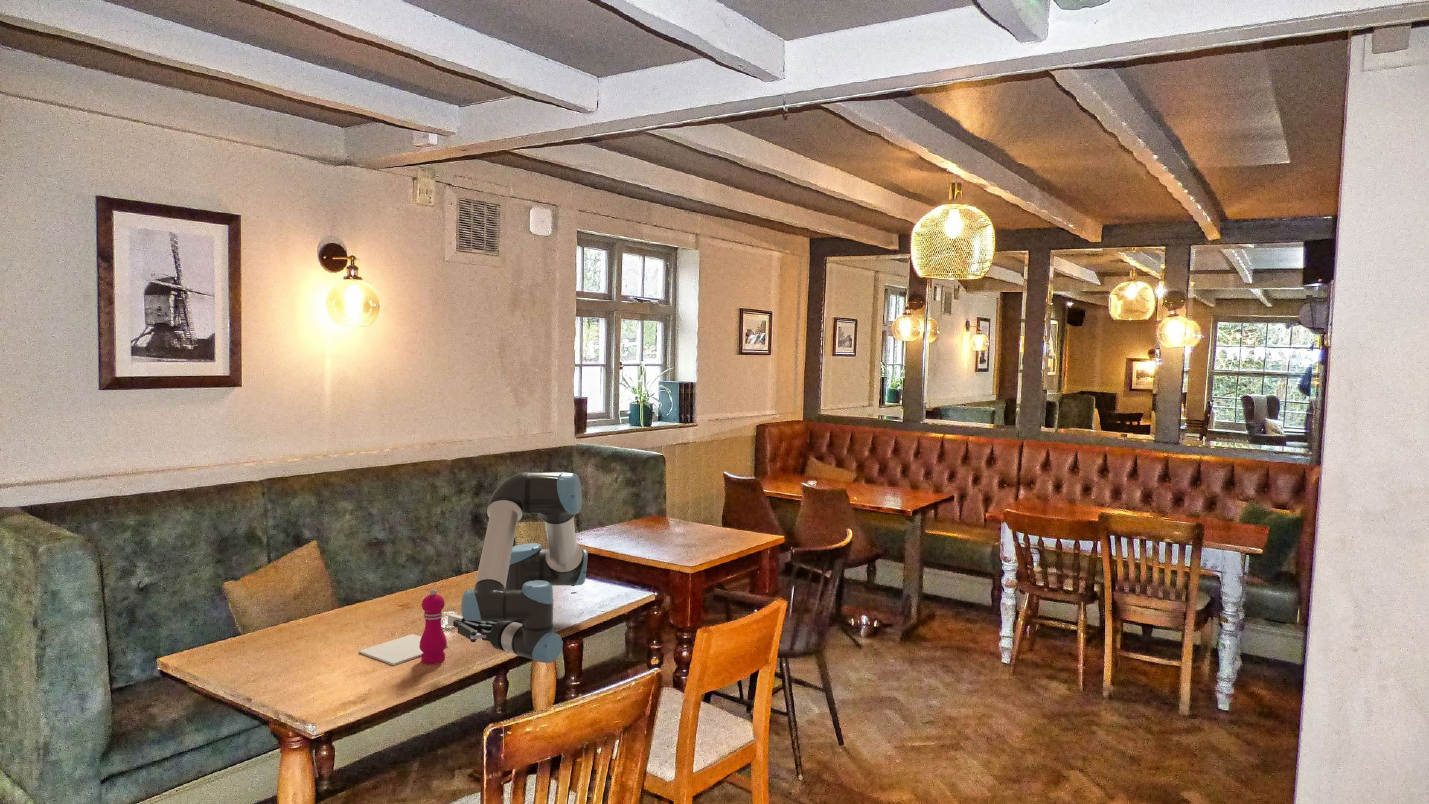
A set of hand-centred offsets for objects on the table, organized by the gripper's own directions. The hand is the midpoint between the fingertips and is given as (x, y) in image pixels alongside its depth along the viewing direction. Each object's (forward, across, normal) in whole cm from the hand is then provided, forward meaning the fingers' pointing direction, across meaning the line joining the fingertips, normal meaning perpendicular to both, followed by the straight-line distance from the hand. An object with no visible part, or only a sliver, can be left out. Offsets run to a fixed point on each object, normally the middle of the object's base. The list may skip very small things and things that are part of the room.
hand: (450, 619), depth 232 cm
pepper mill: (+7, 0, -13) cm, 15 cm away
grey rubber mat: (+20, 0, -13) cm, 24 cm away
